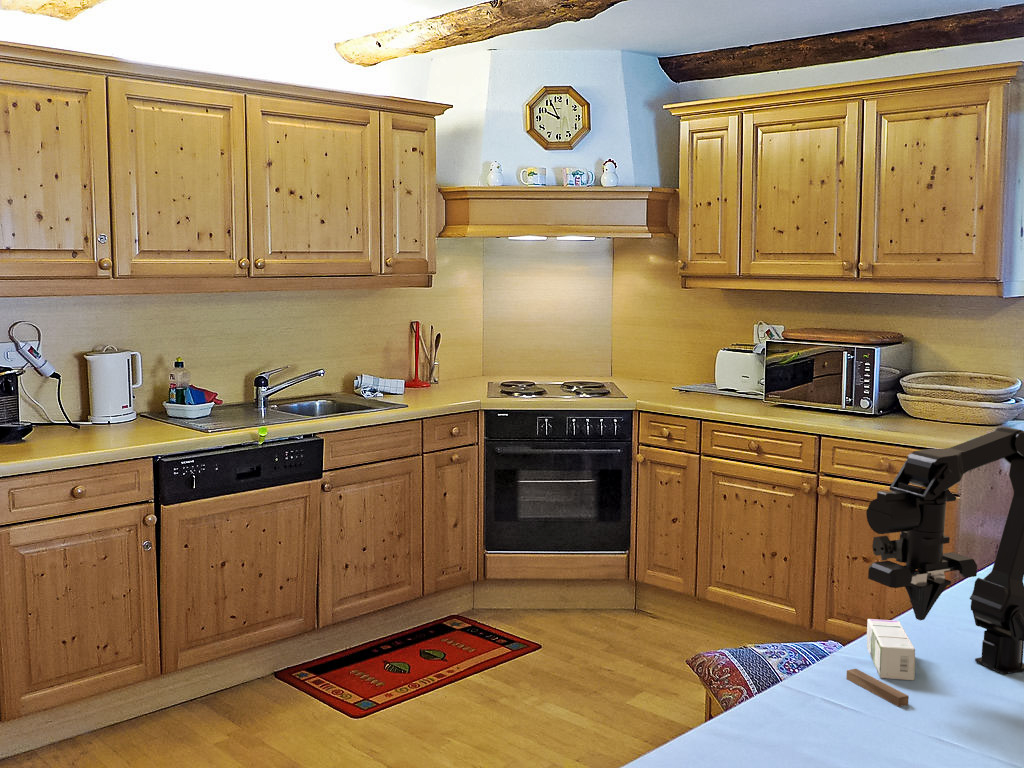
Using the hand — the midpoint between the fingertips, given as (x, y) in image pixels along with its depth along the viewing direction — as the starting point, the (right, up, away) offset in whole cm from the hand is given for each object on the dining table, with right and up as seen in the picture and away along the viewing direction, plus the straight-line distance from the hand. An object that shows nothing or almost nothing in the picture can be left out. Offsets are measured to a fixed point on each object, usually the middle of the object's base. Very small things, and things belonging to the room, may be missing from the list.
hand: (919, 619), depth 173 cm
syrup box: (-3, -8, +2) cm, 9 cm away
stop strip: (-8, -11, -2) cm, 14 cm away
